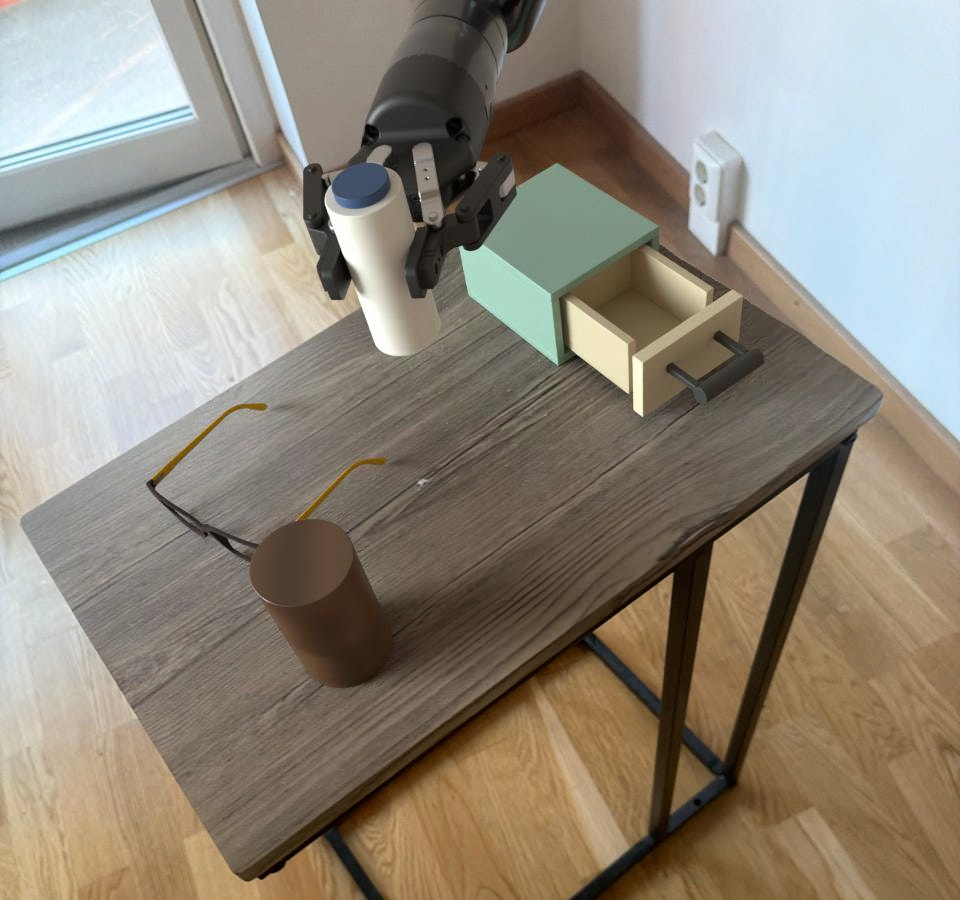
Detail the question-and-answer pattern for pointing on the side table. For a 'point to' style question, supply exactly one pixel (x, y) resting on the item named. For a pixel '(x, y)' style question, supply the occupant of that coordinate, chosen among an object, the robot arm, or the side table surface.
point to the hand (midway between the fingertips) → (373, 286)
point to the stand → (322, 602)
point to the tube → (381, 256)
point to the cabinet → (550, 253)
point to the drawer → (656, 330)
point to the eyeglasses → (213, 531)
